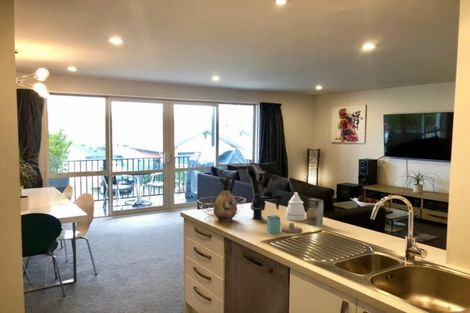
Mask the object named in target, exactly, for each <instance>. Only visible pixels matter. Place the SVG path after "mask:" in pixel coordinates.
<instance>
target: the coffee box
mask: <svg viewBox="0 0 470 313" xmlns="http://www.w3.org/2000/svg"><path fill="white" fill-rule="evenodd" d="M323 220H324V200H323V199H319V198H315V197H310V198H306V211H305V223H306V224H307V225H310V226H311V225H312V226H316V227H319V226H322V225H323V224H324V223H323V222H324V221H323Z"/></svg>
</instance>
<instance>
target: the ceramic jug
mask: <svg viewBox="0 0 470 313" xmlns="http://www.w3.org/2000/svg"><path fill="white" fill-rule="evenodd" d="M229 180H231V182H230V181H229ZM235 182H236V179H235V177H234V176H233V175H227V177H225V178H219V179H218V181H217V183H218V185H220V186H223V189H222V190H221V192H220V193H219V194H218V196H217V198H216V200H215V201H214V205H213V212H214V213H213V214H214V216H215V217H216V218H217V221H218V222H221V223H228V222H229V223H230V222H232V221H233V218H234V217H235V216H236V214H237V212H238V205H237V201H236V199H235V197H234V196H233V188H234V185H235V184H236V183H235ZM229 186H230V187H229Z"/></svg>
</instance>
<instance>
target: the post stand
mask: <svg viewBox="0 0 470 313" xmlns="http://www.w3.org/2000/svg"><path fill="white" fill-rule="evenodd" d="M294 224H295V223H294V222H289V224H288V226H286V225H285V226H283V227H280V232H281V231H282V232H283V233H285V234H299V233H302V231H303V230H302V228H301V227H299V226H295V225H294Z"/></svg>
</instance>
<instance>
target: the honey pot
mask: <svg viewBox="0 0 470 313" xmlns="http://www.w3.org/2000/svg"><path fill="white" fill-rule="evenodd" d="M293 194H294V195H292V197H291V198H290V200H289V201H288V205H287V208H286V210H285V219H286V220H289V221H295V222H296V221H301V222H302V221H304V220H305V221H306V211H305V207H304V205H303V204H304V201H302V199H301V198H300V196H299V193H298V192H294V193H293Z"/></svg>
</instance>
